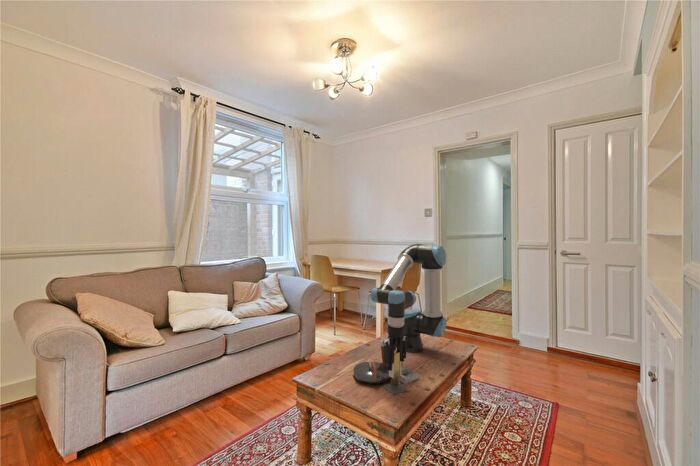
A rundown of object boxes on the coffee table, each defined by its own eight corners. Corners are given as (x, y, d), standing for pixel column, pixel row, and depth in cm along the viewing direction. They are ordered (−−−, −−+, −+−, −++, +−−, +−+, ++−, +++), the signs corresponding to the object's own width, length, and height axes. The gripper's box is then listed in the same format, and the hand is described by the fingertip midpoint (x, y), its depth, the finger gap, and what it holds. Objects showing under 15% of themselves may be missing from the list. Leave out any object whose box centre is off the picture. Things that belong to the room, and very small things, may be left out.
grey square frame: (405, 371, 154) (406, 366, 154) (418, 379, 146) (418, 374, 146) (392, 375, 149) (392, 371, 149) (404, 384, 141) (404, 379, 141)
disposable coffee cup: (396, 367, 158) (396, 345, 158) (378, 365, 160) (378, 343, 160) (397, 359, 167) (397, 338, 167) (380, 358, 169) (380, 337, 169)
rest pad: (395, 382, 143) (395, 381, 143) (407, 390, 136) (407, 389, 136) (382, 386, 139) (382, 385, 139) (393, 395, 132) (393, 394, 132)
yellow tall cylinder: (395, 381, 140) (396, 349, 140) (400, 385, 137) (401, 352, 136) (389, 383, 138) (389, 351, 138) (394, 387, 135) (395, 354, 134)
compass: (351, 365, 156) (352, 352, 156) (385, 364, 158) (386, 351, 157) (355, 384, 138) (355, 369, 138) (393, 382, 140) (394, 367, 140)
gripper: (404, 320, 145) (403, 367, 145) (376, 325, 136) (375, 376, 136) (415, 324, 138) (414, 374, 139) (386, 330, 129) (385, 384, 130)
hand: (395, 375), depth 137 cm, fingers closed on yellow tall cylinder, 4 cm apart
